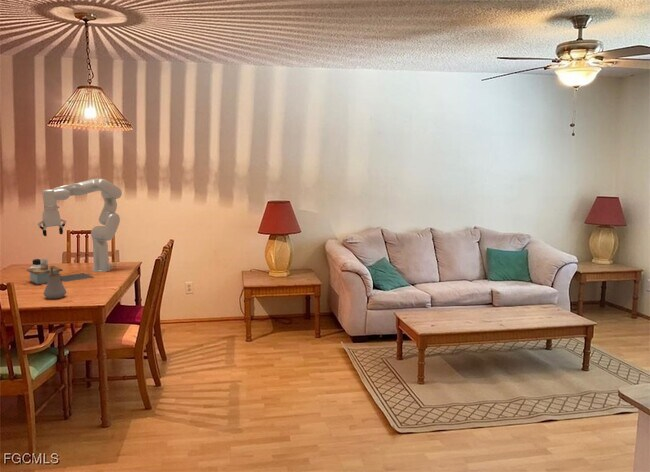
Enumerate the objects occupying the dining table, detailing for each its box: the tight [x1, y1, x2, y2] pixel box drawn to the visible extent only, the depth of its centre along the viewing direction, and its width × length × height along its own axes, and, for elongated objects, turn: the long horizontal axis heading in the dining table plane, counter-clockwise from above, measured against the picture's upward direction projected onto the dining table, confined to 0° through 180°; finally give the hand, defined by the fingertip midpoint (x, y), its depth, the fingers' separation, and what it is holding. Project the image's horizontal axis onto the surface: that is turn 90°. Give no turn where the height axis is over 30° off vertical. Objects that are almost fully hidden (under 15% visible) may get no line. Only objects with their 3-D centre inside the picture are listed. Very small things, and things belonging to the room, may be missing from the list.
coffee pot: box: [43, 267, 67, 300], centre depth 300 cm, size 21×12×15 cm, turn 32°
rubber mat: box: [60, 273, 96, 282], centre depth 349 cm, size 19×19×1 cm
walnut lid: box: [26, 258, 64, 274], centre depth 335 cm, size 16×16×7 cm
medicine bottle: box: [29, 258, 42, 269], centre depth 349 cm, size 7×7×12 cm
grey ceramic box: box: [29, 271, 60, 286], centre depth 335 cm, size 13×13×7 cm
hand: (53, 235), depth 342 cm, fingers open, 9 cm apart
